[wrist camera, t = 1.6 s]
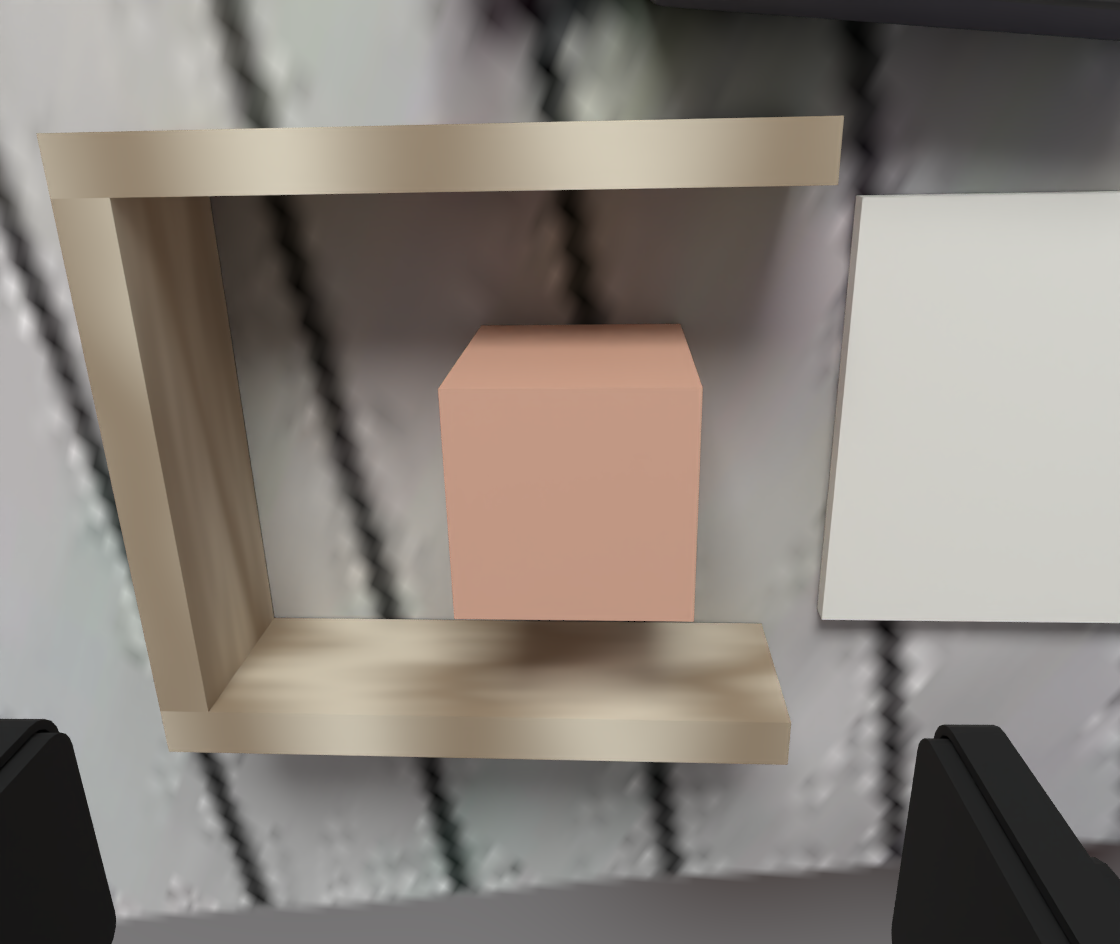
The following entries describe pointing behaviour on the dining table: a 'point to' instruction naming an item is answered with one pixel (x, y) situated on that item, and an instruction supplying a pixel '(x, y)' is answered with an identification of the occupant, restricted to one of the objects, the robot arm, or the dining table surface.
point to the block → (573, 473)
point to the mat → (978, 412)
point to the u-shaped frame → (227, 484)
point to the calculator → (945, 13)
